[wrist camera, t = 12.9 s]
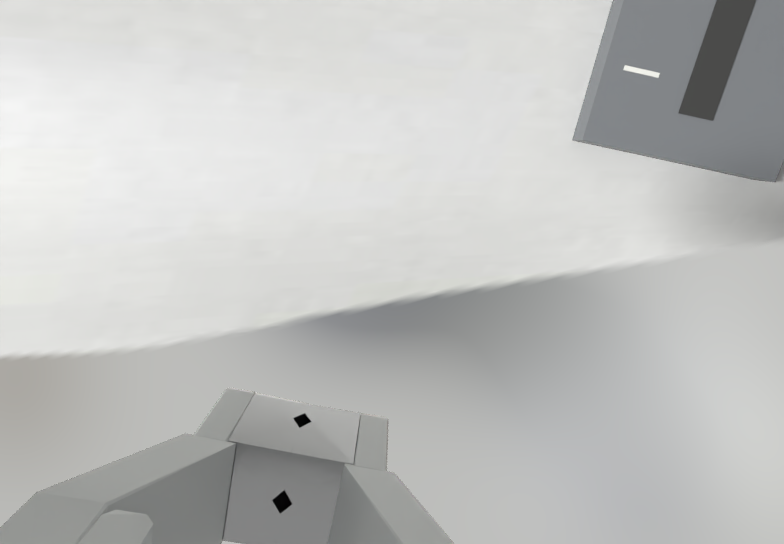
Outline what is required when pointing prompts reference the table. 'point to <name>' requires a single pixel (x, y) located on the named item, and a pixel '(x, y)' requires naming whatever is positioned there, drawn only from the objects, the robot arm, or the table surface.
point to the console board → (691, 84)
